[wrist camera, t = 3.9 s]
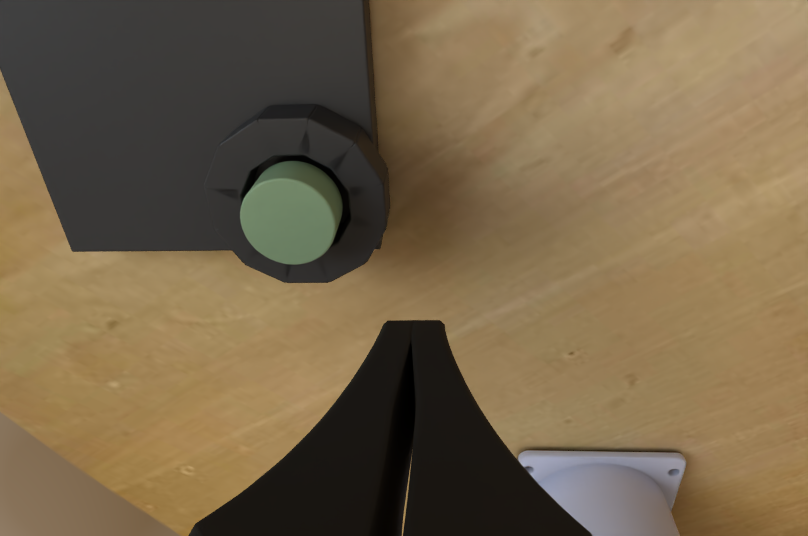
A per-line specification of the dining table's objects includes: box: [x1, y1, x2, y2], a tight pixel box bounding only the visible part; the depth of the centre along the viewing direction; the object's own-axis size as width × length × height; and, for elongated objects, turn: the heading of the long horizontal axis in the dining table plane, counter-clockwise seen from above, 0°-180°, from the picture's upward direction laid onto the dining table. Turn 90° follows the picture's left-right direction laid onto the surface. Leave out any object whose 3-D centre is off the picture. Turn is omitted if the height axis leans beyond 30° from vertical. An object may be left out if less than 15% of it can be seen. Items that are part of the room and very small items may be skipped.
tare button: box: [240, 161, 343, 265], centre depth 18 cm, size 3×3×2 cm
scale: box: [0, 0, 390, 283], centre depth 18 cm, size 14×12×3 cm
